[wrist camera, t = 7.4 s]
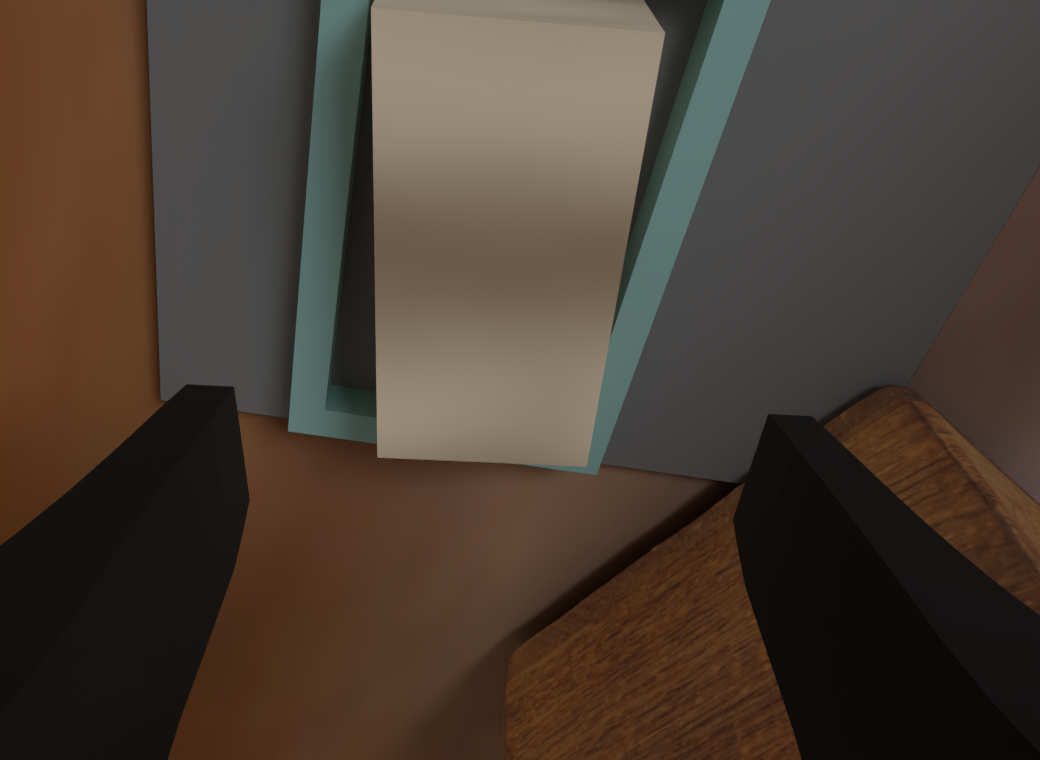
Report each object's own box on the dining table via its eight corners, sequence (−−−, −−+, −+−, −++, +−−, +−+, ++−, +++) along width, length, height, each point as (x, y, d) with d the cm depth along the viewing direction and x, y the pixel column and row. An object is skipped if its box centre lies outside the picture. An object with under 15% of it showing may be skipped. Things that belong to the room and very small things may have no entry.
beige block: (575, 384, 21) (586, 466, 18) (390, 374, 20) (377, 457, 18) (637, -10, 15) (665, 32, 13) (389, -32, 15) (370, 7, 13)
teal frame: (771, -56, 15) (788, -46, 14) (592, 449, 22) (596, 475, 21) (342, -163, 14) (333, -159, 13) (295, 405, 21) (287, 431, 20)
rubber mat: (1417, -502, 12) (1450, -511, 12) (833, 485, 24) (839, 498, 23) (126, -1001, 10) (109, -1036, 9) (167, 387, 21) (160, 400, 21)
